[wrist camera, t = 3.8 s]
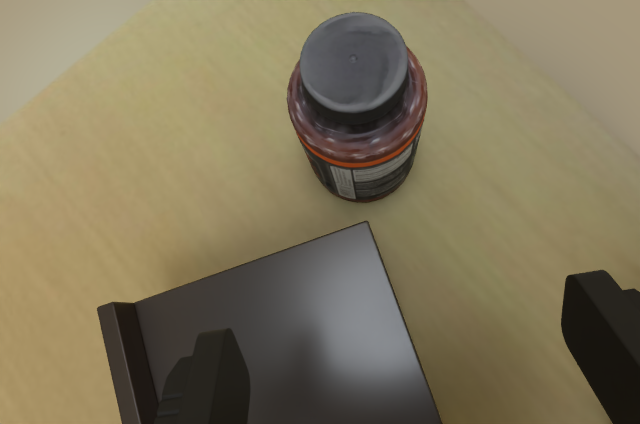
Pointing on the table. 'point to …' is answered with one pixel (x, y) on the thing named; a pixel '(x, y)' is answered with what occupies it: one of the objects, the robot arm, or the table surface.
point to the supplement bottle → (358, 105)
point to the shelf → (283, 337)
